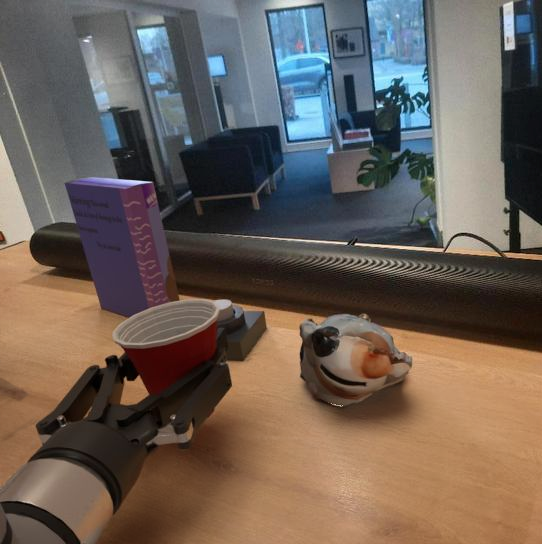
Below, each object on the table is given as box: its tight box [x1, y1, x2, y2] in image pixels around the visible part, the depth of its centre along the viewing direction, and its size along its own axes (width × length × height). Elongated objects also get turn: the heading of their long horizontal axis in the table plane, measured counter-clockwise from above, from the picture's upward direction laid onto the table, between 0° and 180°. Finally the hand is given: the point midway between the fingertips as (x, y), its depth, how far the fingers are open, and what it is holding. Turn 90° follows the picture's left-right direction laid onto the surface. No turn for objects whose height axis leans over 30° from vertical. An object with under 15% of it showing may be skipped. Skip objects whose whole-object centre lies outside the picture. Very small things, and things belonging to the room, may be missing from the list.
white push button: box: [213, 298, 234, 322], centre depth 75 cm, size 4×4×2 cm
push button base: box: [217, 304, 268, 362], centre depth 76 cm, size 12×10×5 cm
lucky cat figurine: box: [298, 312, 413, 407], centre depth 61 cm, size 15×12×14 cm
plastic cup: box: [111, 298, 220, 419], centre depth 54 cm, size 11×11×12 cm
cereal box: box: [64, 176, 181, 318], centre depth 86 cm, size 17×5×24 cm, turn 58°
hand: (189, 338), depth 58 cm, fingers closed on plastic cup, 8 cm apart
